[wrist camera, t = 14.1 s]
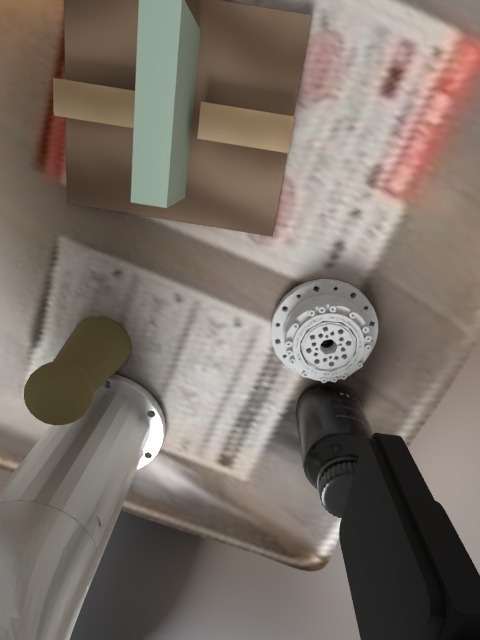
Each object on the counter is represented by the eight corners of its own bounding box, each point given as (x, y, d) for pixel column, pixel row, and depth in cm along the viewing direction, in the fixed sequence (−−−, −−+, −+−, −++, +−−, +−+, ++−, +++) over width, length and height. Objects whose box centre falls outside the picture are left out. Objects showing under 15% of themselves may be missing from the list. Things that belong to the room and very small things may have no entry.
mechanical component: (368, 267, 37) (261, 289, 39) (380, 281, 33) (260, 305, 34) (380, 362, 41) (281, 379, 42) (392, 385, 37) (283, 403, 38)
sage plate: (185, 197, 35) (166, 207, 28) (155, 193, 35) (130, 202, 28) (200, 29, 30) (182, -5, 24) (166, 24, 30) (139, -11, 23)
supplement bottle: (341, 444, 44) (367, 541, 33) (284, 422, 44) (291, 513, 33) (373, 395, 42) (412, 482, 31) (313, 370, 41) (331, 450, 30)
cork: (143, 344, 41) (103, 406, 31) (108, 380, 43) (59, 450, 33) (95, 304, 40) (37, 355, 30) (61, 344, 42) (-5, 405, 32)
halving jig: (272, 234, 36) (272, 241, 33) (72, 202, 36) (55, 206, 33) (310, 19, 30) (315, 5, 27) (69, -20, 30) (49, -38, 27)
